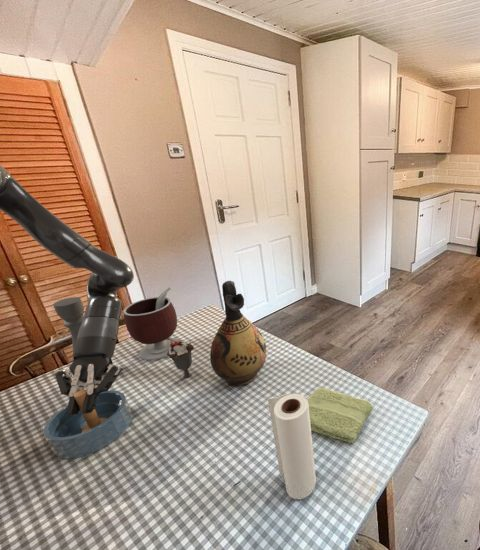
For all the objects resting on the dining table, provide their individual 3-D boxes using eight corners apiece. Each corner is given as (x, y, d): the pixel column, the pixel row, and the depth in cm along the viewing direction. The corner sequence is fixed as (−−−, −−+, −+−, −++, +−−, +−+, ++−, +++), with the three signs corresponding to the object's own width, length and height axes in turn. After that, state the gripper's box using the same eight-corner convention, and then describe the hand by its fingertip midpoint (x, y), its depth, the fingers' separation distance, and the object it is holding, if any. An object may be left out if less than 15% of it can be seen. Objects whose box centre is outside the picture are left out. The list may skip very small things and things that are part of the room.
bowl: (37, 468, 66) (24, 446, 63) (79, 415, 79) (70, 396, 76) (115, 453, 69) (105, 432, 66) (143, 405, 82) (136, 386, 79)
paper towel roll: (321, 489, 61) (313, 409, 53) (292, 507, 58) (279, 424, 50) (307, 461, 67) (298, 384, 59) (280, 475, 64) (267, 397, 56)
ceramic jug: (276, 379, 91) (263, 289, 79) (221, 402, 83) (198, 304, 71) (260, 351, 104) (246, 270, 92) (211, 368, 96) (189, 281, 84)
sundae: (169, 382, 90) (156, 340, 84) (189, 368, 95) (177, 327, 90) (186, 388, 88) (173, 344, 82) (205, 373, 93) (194, 332, 88)
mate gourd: (156, 365, 97) (138, 311, 89) (127, 356, 101) (107, 303, 94) (196, 339, 110) (184, 290, 103) (169, 332, 115) (155, 284, 107)
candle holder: (106, 364, 98) (78, 294, 88) (113, 372, 94) (84, 300, 85) (81, 375, 93) (49, 302, 84) (87, 383, 90) (54, 309, 80)
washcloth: (317, 390, 87) (316, 381, 85) (374, 408, 80) (374, 399, 79) (289, 425, 75) (288, 415, 74) (354, 450, 69) (353, 440, 68)
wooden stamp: (78, 441, 71) (58, 403, 66) (91, 423, 75) (73, 386, 71) (103, 436, 72) (86, 399, 67) (115, 419, 76) (99, 383, 72)
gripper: (53, 337, 71) (30, 418, 64) (118, 332, 73) (102, 410, 66) (78, 343, 78) (59, 417, 71) (136, 338, 80) (123, 409, 73)
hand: (80, 413), depth 69 cm, fingers closed on wooden stamp, 2 cm apart
